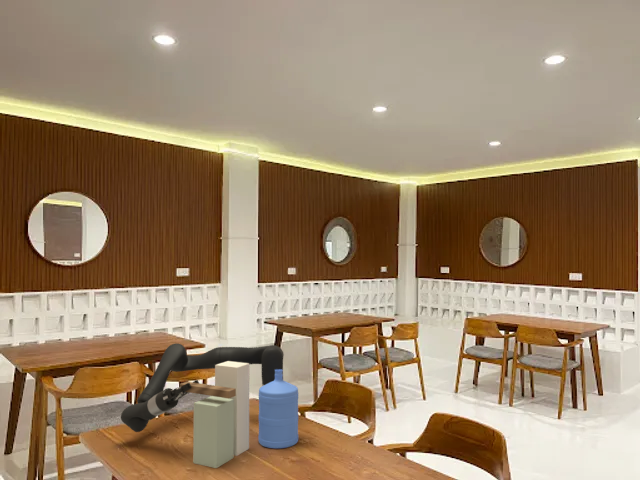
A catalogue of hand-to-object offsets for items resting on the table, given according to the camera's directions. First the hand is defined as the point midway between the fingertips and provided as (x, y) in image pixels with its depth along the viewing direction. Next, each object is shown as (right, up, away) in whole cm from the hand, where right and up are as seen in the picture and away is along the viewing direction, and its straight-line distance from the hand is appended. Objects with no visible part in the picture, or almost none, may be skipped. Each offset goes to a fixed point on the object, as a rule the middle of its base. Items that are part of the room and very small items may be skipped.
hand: (193, 383), depth 187 cm
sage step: (+8, -26, -5) cm, 28 cm away
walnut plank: (+5, -3, -3) cm, 7 cm away
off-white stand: (+13, -26, +5) cm, 30 cm away
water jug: (+30, -27, +14) cm, 42 cm away
